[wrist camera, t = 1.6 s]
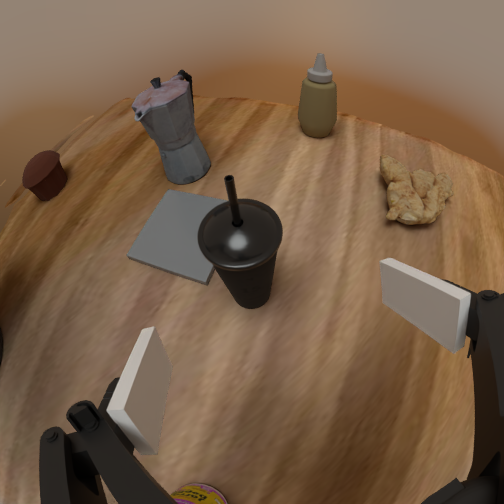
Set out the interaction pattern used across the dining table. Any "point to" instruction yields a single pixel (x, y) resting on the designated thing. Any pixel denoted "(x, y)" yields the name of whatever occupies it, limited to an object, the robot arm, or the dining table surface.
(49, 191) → the muffin
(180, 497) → the supplement bottle
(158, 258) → the slate coaster
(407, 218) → the ginger root
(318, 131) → the squeeze bottle
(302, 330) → the dining table surface
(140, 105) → the moka pot
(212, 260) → the drinking cup
